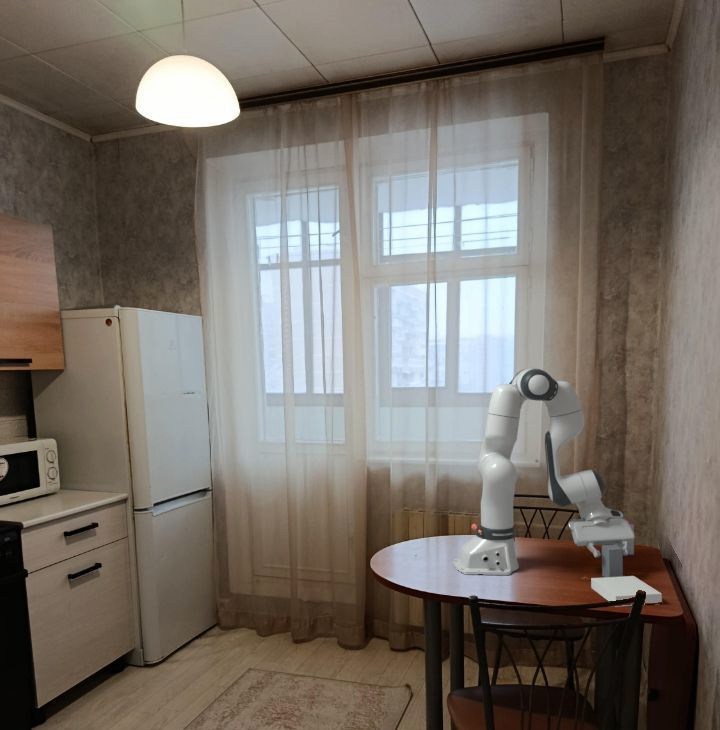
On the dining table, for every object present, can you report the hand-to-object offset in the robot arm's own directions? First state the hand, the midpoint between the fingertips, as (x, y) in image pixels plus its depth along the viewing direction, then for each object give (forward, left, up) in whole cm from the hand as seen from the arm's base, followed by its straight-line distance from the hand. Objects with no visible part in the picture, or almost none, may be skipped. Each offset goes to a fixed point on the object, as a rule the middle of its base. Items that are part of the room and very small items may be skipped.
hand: (611, 555), depth 182 cm
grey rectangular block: (0, -1, -7) cm, 7 cm away
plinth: (-4, -15, -7) cm, 17 cm away
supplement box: (+17, +21, -7) cm, 28 cm away
